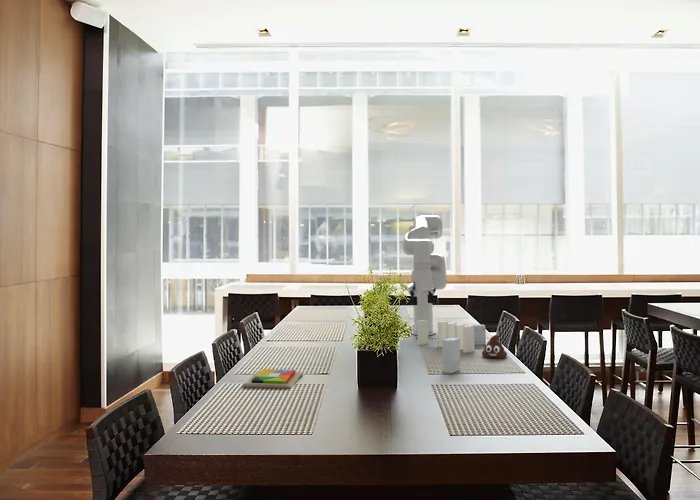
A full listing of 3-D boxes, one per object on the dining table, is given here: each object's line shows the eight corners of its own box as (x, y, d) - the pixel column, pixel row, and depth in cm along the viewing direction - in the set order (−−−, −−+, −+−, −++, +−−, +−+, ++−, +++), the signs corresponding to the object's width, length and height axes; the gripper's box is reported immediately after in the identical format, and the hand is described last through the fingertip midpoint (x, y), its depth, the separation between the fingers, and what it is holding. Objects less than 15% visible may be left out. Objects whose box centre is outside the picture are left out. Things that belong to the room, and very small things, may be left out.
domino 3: (446, 348, 259) (445, 323, 259) (454, 346, 262) (454, 322, 262) (448, 348, 258) (448, 323, 258) (457, 347, 261) (456, 322, 261)
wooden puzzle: (241, 389, 202) (240, 379, 202) (258, 375, 221) (258, 366, 221) (290, 390, 199) (290, 380, 199) (304, 376, 218) (303, 367, 218)
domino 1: (417, 344, 269) (417, 320, 269) (426, 343, 272) (425, 319, 271) (420, 345, 268) (419, 321, 267) (428, 343, 271) (427, 319, 270)
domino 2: (438, 346, 264) (437, 322, 263) (446, 345, 267) (445, 320, 266) (440, 347, 262) (440, 322, 262) (448, 345, 265) (448, 321, 265)
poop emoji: (508, 356, 242) (508, 333, 241) (504, 360, 234) (504, 337, 234) (484, 354, 246) (483, 332, 246) (479, 358, 238) (479, 335, 238)
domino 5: (463, 352, 251) (462, 326, 250) (471, 350, 254) (471, 325, 253) (466, 352, 250) (465, 326, 249) (474, 351, 252) (474, 325, 252)
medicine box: (484, 343, 269) (484, 324, 268) (486, 345, 264) (485, 326, 264) (467, 343, 269) (466, 324, 269) (468, 345, 265) (467, 326, 265)
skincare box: (450, 368, 222) (449, 337, 221) (460, 370, 219) (460, 338, 218) (441, 372, 217) (441, 339, 217) (452, 374, 214) (451, 340, 214)
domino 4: (454, 350, 255) (454, 324, 255) (462, 348, 258) (462, 323, 258) (457, 350, 254) (456, 325, 253) (465, 349, 257) (465, 324, 256)
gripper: (430, 265, 277) (431, 301, 277) (402, 267, 267) (402, 305, 267) (441, 266, 270) (442, 303, 271) (412, 268, 260) (413, 306, 261)
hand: (422, 304), depth 269 cm, fingers open, 9 cm apart
